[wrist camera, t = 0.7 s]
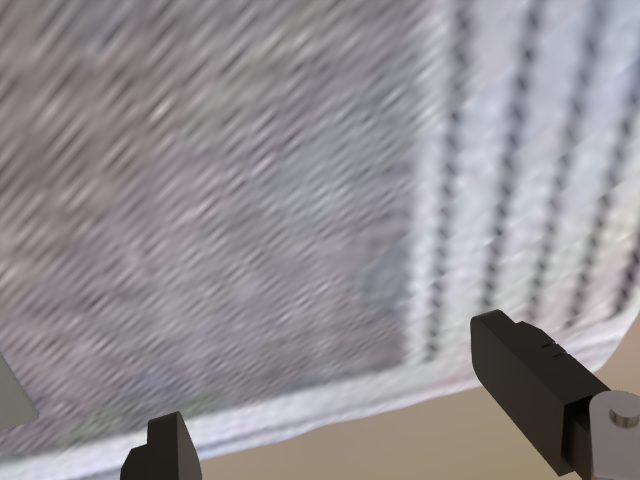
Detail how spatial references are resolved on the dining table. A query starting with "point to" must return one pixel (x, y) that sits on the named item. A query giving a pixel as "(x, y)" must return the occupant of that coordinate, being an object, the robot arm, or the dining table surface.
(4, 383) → the mat
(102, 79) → the dining table surface
